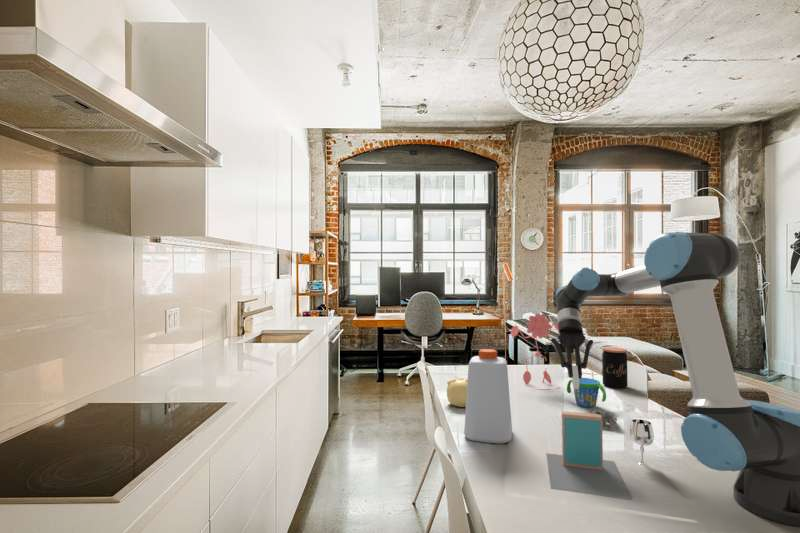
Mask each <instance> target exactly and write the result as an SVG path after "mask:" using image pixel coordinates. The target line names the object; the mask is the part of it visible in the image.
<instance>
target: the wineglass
mask: <svg viewBox="0 0 800 533" xmlns="http://www.w3.org/2000/svg"><path fill="white" fill-rule="evenodd" d="M654 432H655V431H654V428H653V424H652V422H651V421H649V420H646V419H640V418H639V419H638V418H636V419H635V418H634V419H632V420H631V424H630V428H629V436H630V439H631V441H632V442H634V443H635V444H637V445H638V446H640V447H639V451H640V457H641V458H640V461H638V462H637V463H638V464H639V465H642V466H646V465H647V463H645V461H644V453H645V452H644V451H645V448H644V447H645V446H650V445H652V444H653V442H654V440H655V433H654Z"/></svg>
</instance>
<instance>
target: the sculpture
mask: <svg viewBox="0 0 800 533" xmlns="http://www.w3.org/2000/svg"><path fill="white" fill-rule="evenodd" d="M467 381H468V379H465V378H463V377H458V378H455V379H451V380H448V381H446V383H447V387H446V397H447V401H448V402H449V404H450V405H452V406H454V407H459V408H464V407H465V408H466V397H467Z"/></svg>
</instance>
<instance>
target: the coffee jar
mask: <svg viewBox="0 0 800 533" xmlns="http://www.w3.org/2000/svg"><path fill="white" fill-rule="evenodd" d="M601 350H602V352H601V353H602V355H601V358H602V384H603V387H606V388H609V389H614V390H624V389H627V387H628V383H629V382H628V355H627V352H628V349H626V348H623V347H617V346H616V347H615V346H604V347H602V348H601Z"/></svg>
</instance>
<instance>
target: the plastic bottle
mask: <svg viewBox="0 0 800 533" xmlns="http://www.w3.org/2000/svg"><path fill="white" fill-rule="evenodd" d="M467 380H468V381H467V397H466V407H465V413H464V414H465V415H464V430H463V433H464V436H465V438H467V439H468V440H469V441H473V442H480V443H489V444H497V445H503V444H508V443H510V442H511V441H512V438H513V426H512V425H513V423H512V413H511V412H512V411H511V398H510V397H511V396H510V384H509V373H508V360H506V358H504V357H501V356H498V351H497V350H496V349H491V348H483V349H479V350H478V355H474V356H472V357H471V358H470V360H469V362H468V370H467Z"/></svg>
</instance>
